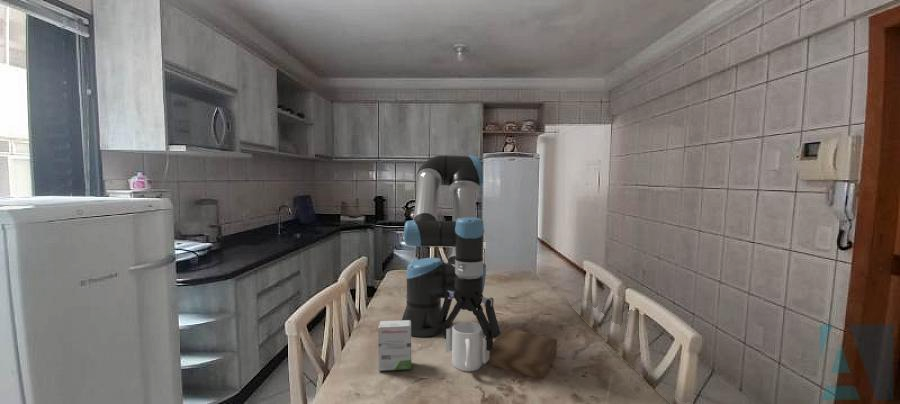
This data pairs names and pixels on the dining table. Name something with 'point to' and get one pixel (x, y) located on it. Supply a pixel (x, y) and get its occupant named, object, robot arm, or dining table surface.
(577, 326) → the dining table surface
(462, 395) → the dining table surface
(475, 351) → the mug
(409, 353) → the ink box
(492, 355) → the walnut block
